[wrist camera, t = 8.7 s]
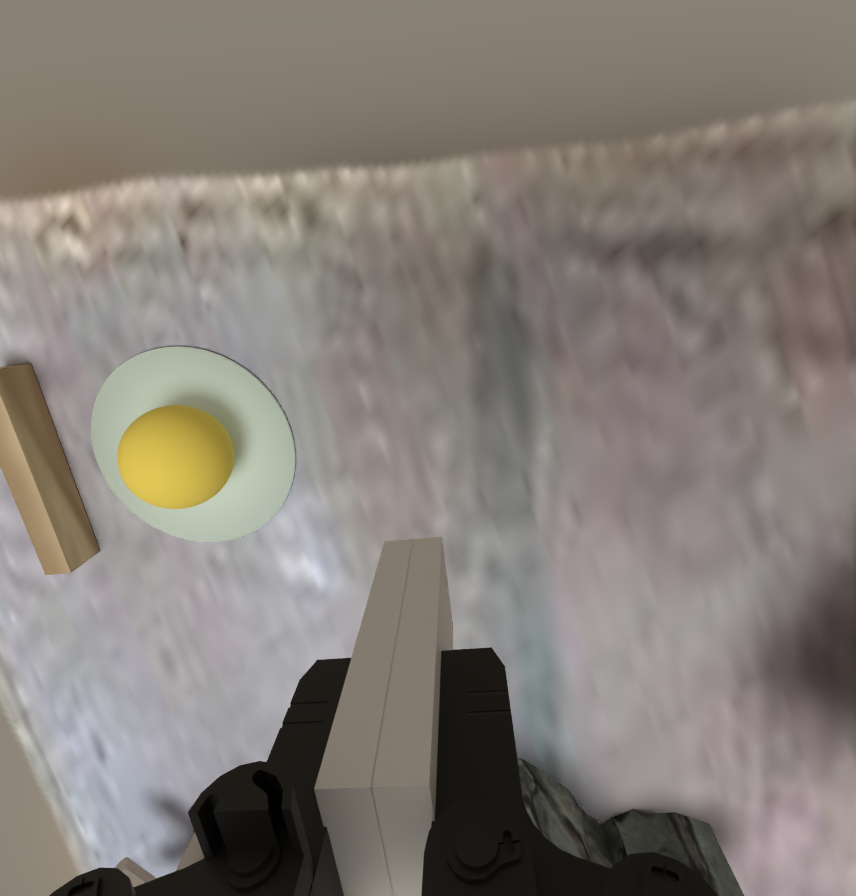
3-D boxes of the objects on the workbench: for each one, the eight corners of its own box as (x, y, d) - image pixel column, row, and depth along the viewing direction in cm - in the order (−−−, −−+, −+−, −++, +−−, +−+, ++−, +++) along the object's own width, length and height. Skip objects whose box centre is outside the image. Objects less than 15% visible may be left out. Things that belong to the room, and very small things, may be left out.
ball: (218, 389, 28) (221, 404, 23) (241, 476, 30) (248, 507, 25) (111, 408, 26) (90, 429, 21) (142, 501, 28) (129, 539, 23)
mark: (271, 334, 26) (269, 334, 26) (313, 531, 30) (312, 533, 29) (64, 359, 27) (61, 359, 27) (129, 548, 31) (127, 549, 30)
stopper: (30, 363, 27) (-10, 370, 25) (100, 550, 31) (70, 572, 28) (4, 366, 27) (-38, 373, 25) (76, 553, 31) (45, 574, 28)
